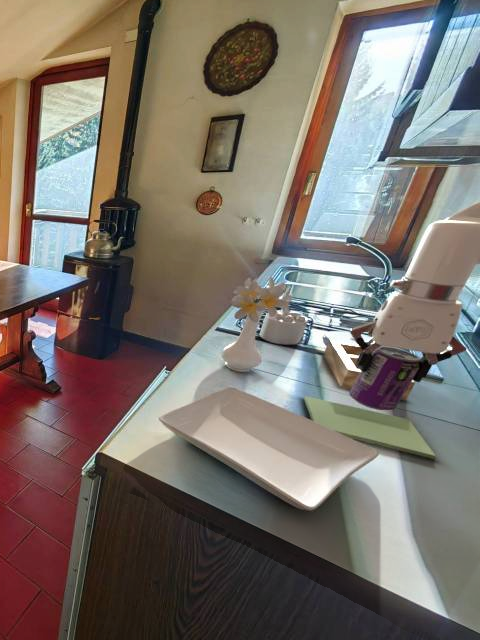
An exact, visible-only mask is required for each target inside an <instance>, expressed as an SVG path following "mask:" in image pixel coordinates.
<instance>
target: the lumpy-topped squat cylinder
mask: <svg viewBox="0 0 480 640" xmlns="http://www.w3.org/2000/svg"><path fill="white" fill-rule="evenodd" d="M308 323H309V317H307V316H305V315H303V314H302V313H300V312H298V311H292V310H290V313H289V315H288V314H287V313H286V311H285V315H284V313H283V311H282V309H279V310H277V313H276V316H275V317H271V316H270V315H269V313H268V312H267V313H266V314H265V316H264V319H263V321H262V325H261V327H260V331H259V336H260V337H261V339H263V340H265V341H266V342H268V343H273V344H277V345H296V344H298V343H300V342H301V340H302V338H303V335H304V333H305V330H306V328H307V324H308Z"/></svg>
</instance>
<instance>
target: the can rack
mask: <svg viewBox="0 0 480 640" xmlns="http://www.w3.org/2000/svg"><path fill="white" fill-rule="evenodd" d="M361 350H362V349H361V348H360V346H359V345H358V344H357V343H351V342H346V341H340V340H333V339H329V340H328V342H327V344H326V347H325V349H324V352H323V358H324V360H325V361H326V363H327V364H328V366H329V368H330V371H331V372H332V373H333V375H334V378H335V380H336V381H337V383H338V385H339V387H340V388H343V389H349V390H351V389H352V388H353V386H354V384H355V382H356V380H357V378H358V376H359V374H360V373H361V370H360V369H359V367H358V365H356V361H357V359H358V357H359V354H360V352H361ZM376 350H377V349H376ZM376 350H374V351H376ZM374 351H373V352H374ZM373 352H372V353H373ZM415 384H416V382H415V381H414V380H413V379H412V381H411V383H410V384H409V386H408V388H407V389H406V391H405V393H404V395H403V396H402V398H401V400H402V401H407V399H408V398H409V395H410V394H411V392H412V389H413V388H414V386H415ZM401 400H400V401H401Z"/></svg>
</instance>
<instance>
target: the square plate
mask: <svg viewBox="0 0 480 640" xmlns="http://www.w3.org/2000/svg"><path fill="white" fill-rule="evenodd" d="M158 421H159V422H160V423H161V424H162V425H163V426H164V427H165V428H166V429H167V430H169V431H171V432H172V433H173V434H175V435H176V436H178V437H180V438H182V439H183V440H185V441H186V442H188V443H190V444H192V445H193V446H194V447H197V448H198V449H200V450H202V451H203V452H205V454H208V455H209V456H211V457H213V458H214V459H216V460H217V461H220V462H221V463H223V464H225V465H226V466H228V467H229V468H230V469H233V470H234V471H235V472H237V473H238V474H241V476H244V477H245V478H246V479H248V480H250V481H251V482H252V483H254V484H256V485H257V486H259V487H260V488H261V489H264V490H265V491H267V492H269V493H270V494H272V495H274V496H276V497H278V498H279V499H280V500H282V501H284V502H286V503H287V504H289V505H291V506H293V507H294V508H297V509H299V510H303V511H309V512H312V511H314V510H315V509H317V508H318V507H319V506H321V505H322V504H323V503H324V502H325V501H326V500H327V499H328V498H329V497H330V496H331V495H332V494H333V493H334V492H335V491H336V490H337V489H338V487H340V486H341V485H342V484H343V483H344V482H346V480H347V479H349V478H350V477H351V476H352V475H354V474H356V472H358V471H359V470H361V469H362V468H363V467H365V466H367V465H368V464H369V463H371V462H373V461H374V460H375V459H377V457H378V456H379V454H380V452H379V451H378V450H377V449H375V448H372V447H370V446H368V445H367V444H364V443H361V442H359V441H358V440H356V439H353V438H349V437H347V436H344V435H342V434H340V433H338V432H336V431H334V430H332V429H329V428H327V427H325V426H323V425H321V424H318V423H316V422H314V421H312V420H311V419H309V418H307V417H305V416H303V415H301V414H298V413H295V412H294V411H291V410H289V409H287V408H284V407H282V406H280V405H277V404H275V403H273V402H271V401H268V400H266V399H263V398H261V397H259V396H256V395H253V394H252V393H249V392H246V391H244V390H242V389H240V388H237V387H235V386H231V385H227V386H226V387H223V388H220V389H218V390H216V391H213V392H211V393H209V394H207V395H205V396H203V397H200V398H199V399H196V400H193V401H191V402H189V403H186V404H184V405H182V406H180V407H177V408H175V409H173V410H171V411H168V412H167V413H165V414H162V415H161V416H159V417H158Z"/></svg>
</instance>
